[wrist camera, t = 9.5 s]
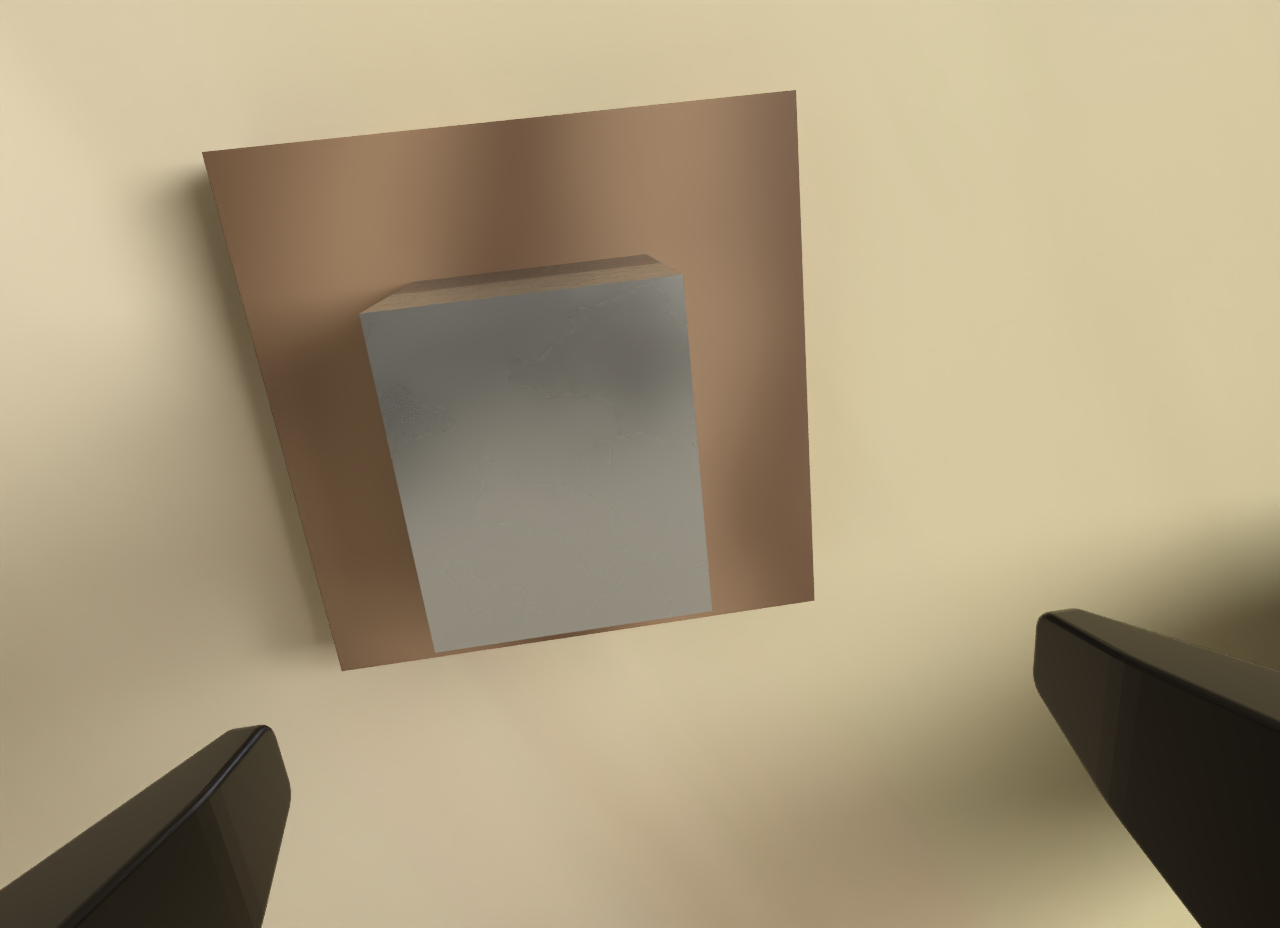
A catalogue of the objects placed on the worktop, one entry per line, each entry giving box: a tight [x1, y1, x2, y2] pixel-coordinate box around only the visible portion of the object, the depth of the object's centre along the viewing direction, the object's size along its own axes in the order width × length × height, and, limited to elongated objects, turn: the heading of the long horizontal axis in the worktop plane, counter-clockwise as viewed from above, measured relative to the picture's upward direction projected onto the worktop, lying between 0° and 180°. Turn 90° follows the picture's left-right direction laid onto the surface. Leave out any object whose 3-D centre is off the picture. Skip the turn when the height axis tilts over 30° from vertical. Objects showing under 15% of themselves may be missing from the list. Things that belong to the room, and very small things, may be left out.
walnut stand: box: [202, 90, 814, 671], centre depth 19 cm, size 12×12×2 cm
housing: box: [359, 254, 712, 653], centre depth 15 cm, size 5×6×5 cm
